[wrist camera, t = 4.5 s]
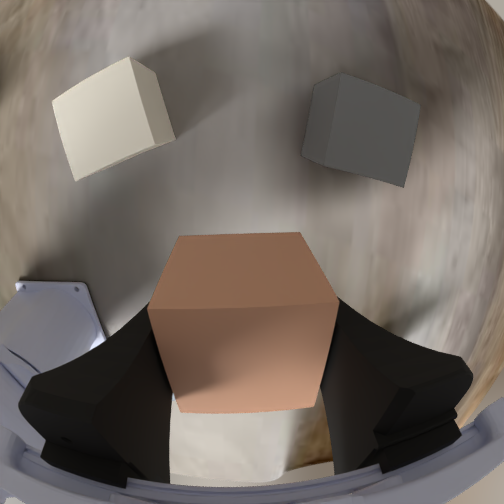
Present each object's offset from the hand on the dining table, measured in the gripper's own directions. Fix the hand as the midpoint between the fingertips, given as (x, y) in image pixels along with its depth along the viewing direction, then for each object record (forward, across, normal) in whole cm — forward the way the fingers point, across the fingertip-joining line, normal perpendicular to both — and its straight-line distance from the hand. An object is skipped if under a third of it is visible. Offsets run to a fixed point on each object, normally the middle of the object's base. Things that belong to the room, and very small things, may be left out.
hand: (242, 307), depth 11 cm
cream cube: (+9, +7, -8) cm, 14 cm away
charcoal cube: (+9, -7, -7) cm, 13 cm away
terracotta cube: (+2, 0, 0) cm, 2 cm away
